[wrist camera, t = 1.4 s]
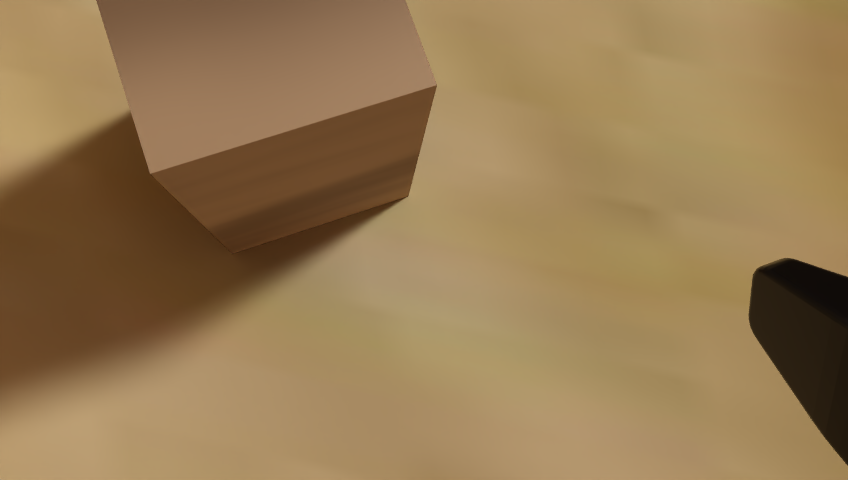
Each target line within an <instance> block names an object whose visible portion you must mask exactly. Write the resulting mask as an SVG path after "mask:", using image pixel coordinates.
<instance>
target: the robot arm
mask: <svg viewBox="0 0 848 480" xmlns="http://www.w3.org/2000/svg"><path fill="white" fill-rule="evenodd" d="M749 323H750V326H751V329H752V331H753V334H754V335H755V337H756V338H757V340H758V341H759V343H760V344H761V346H762V347H763V349H764V350H765V352H766V353H767V355H768V356H769V358H770V359H771V361H772V362H773V363H774V365H775V366H776V368H777V369H778V371H779V372H780V374H781V375H782V377H783V378H784V380H785V381H786V383H787V384H788V386H789V387H790V388H791V390H792V391H793V393H794V394H795V396H796V397H797V399H798V400H799V402H800V403H801V405H802V406H803V408H804V409H805V411H806V412H807V414H808V415H809V416H810V418H811V419H812V421H813V422H814V424H815V425H816V426H817V428H818V429H819V430H820V432H821V433H822V435H823V436H824V437H825V439H826V440H827V441H828V442H829V444H830V445H831V446H832V447H833V448H834V450H835V451H836V452H837V453H838V455H839V456H840V457H841V458H842V459H843V461H844V462H845V463H846V464H847V465H848V277H846V276H843V275H840V274H837V273H834V272H831V271H828V270H825V269H822V268H819V267H816V266H814V265H811V264H808V263H805V262H802V261H799V260H795V259H791V258H784V259H780V260H777V261H774V262H772V263H769V264H766V265H763V266H761V267H759V268H757V269H756V271H755V272H754V274H753V278H752V288H751V297H750V307H749Z"/></svg>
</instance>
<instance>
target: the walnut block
mask: <svg viewBox="0 0 848 480" xmlns="http://www.w3.org/2000/svg"><path fill="white" fill-rule="evenodd" d="M96 1H97V4H98V7H99V10H100V14H101V17H102V20H103V23H104V27H105V30H106V33H107V36H108V39H109V43H110V46H111V49H112V52H113V56H114V59H115V62H116V65H117V69H118V72H119V75H120V78H121V82H122V85H123V88H124V91H125V94H126V98H127V101H128V104H129V107H130V111H131V114H132V117H133V120H134V124H135V127H136V130H137V133H138V137H139V140H140V143H141V146H142V149H143V153H144V156H145V159H146V162H147V166H148V169H149V172H150V174H151V175H152V176H153V177H154V178H155V179H156V180H157V181H158V182H159V183H160V184H161V185H162V186H163V187H164V188H165V189H166V190H167V191H168V192H169V193H170V194H171V195H172V196H173V197H174V198H175V199H176V200H178V201H179V202H180V203H181V204H182V205H183V206H184V207H185V208H186V209H187V210H188V211H189V212H190V213H191V214H192V215H193V216H194V217H195V218H196V219H197V220H198V221H199V222H200V223H201V224H202V225H203V226H204V227H205V228H206V229H207V230H208V231H209V232H210V233H211V234H212V235H214V236H215V237H216V238H217V239H218V240H219V241H220V242H221V243H222V244H223V245H224V246H225V247H226V248H227V249H228V250H229V251H230V252H231V253H232V254H234V253H237V252H240V251H243V250H246V249H249V248H252V247H255V246H258V245H261V244H264V243H267V242H270V241H273V240H276V239H279V238H282V237H285V236H288V235H292V234H295V233H298V232H301V231H304V230H307V229H310V228H313V227H316V226H319V225H322V224H325V223H328V222H331V221H334V220H337V219H340V218H343V217H346V216H349V215H352V214H356V213H359V212H362V211H365V210H368V209H371V208H374V207H377V206H380V205H383V204H386V203H389V202H392V201H395V200H398V199H401V198H404V197H407V196H408V195H409V191H410V188H411V184H412V180H413V176H414V172H415V168H416V164H417V160H418V156H419V153H420V149H421V145H422V141H423V137H424V133H425V129H426V125H427V122H428V118H429V114H430V110H431V106H432V102H433V98H434V94H435V91H436V87H437V84H436V81H435V79H434V76H433V73H432V71H431V68H430V65H429V62H428V60H427V57H426V54H425V52H424V49H423V46H422V44H421V41H420V38H419V36H418V33H417V30H416V28H415V25H414V22H413V20H412V17H411V14H410V12H409V9H408V6H407V4H406V1H405V0H96Z"/></svg>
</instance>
